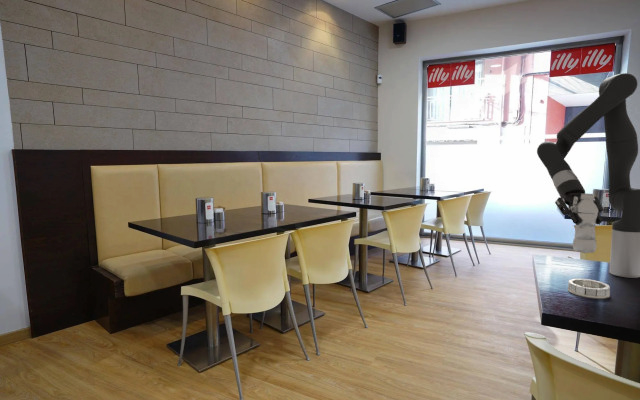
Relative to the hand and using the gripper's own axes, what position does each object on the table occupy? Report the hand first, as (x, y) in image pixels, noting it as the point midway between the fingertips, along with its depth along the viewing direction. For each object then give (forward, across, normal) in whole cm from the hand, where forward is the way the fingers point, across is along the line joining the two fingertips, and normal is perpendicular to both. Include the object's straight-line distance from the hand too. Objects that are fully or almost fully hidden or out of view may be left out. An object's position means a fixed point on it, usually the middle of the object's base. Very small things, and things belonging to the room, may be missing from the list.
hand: (589, 223), depth 125 cm
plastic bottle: (+6, 0, +9) cm, 11 cm away
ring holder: (+18, 0, +15) cm, 23 cm away
